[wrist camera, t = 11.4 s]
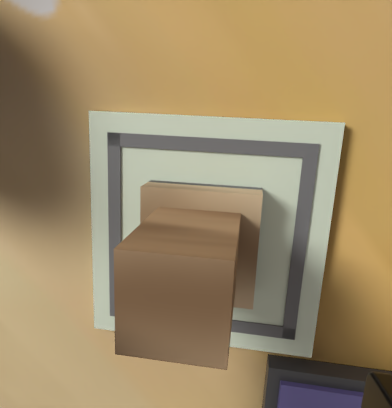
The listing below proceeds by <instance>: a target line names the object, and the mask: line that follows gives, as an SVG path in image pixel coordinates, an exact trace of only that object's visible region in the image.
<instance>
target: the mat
mask: <svg viewBox="0 0 392 408" xmlns="http://www.w3.org/2000/svg"><path fill="white" fill-rule="evenodd" d="M344 127H345V123H339V122H317V121H296V120H275V119H254V118H233V117H212V116H190V115H169V114H148V113H127V112H106V111H89V140H90V179H91V218H92V257H93V297H94V328H97V329H105V330H112V331H115V308H114V248H115V247H116V246H117V245H118V244H119V243H121V242H122V241H123V240H124V239H125V238H126V237H127V236H128V235H129V234H130V233H131V232H132V231H133V230H134V229H136V228H137V227H138V226H139V225H140V186H142V185H144V184H145V183H147V182H149V181H150V180H157V181H172V182H186V183H201V184H215V185H229V186H244V187H258V188H262V192H263V200H262V211H261V223H260V234H259V245H258V257H257V268H256V279H255V291H254V302H253V309H245V308H236V307H234V308H233V318H232V327H231V337H230V346H229V347H236V348H244V349H251V350H258V351H265V352H273V353H280V354H287V355H295V356H302V357H309V358H312V351H313V344H314V337H315V330H316V323H317V316H318V309H319V302H320V295H321V288H322V281H323V274H324V267H325V260H326V253H327V246H328V239H329V232H330V225H331V218H332V211H333V204H334V197H335V190H336V183H337V176H338V169H339V162H340V155H341V148H342V141H343V134H344Z"/></svg>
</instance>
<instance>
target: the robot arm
mask: <svg viewBox="0 0 392 408" xmlns="http://www.w3.org/2000/svg"><path fill="white" fill-rule="evenodd" d="M361 408H392V375H391V374H388V373H380V372H373V371H371V372H369V373H368V375H367V378H366V383H365V388H364V393H363V398H362V404H361Z"/></svg>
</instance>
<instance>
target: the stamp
mask: <svg viewBox="0 0 392 408" xmlns="http://www.w3.org/2000/svg"><path fill="white" fill-rule="evenodd" d="M262 200H263V192H262V188H258V187H244V186H229V185H215V184H201V183H186V182H172V181H157V180H150V181H149V182H147V183H145V184H144V185H142V186H140V225H139V226H138V227H137V228H136V229H134V230H133V231H132V232H131V233H130V234H129V235H128V236H127V237H126V238H125V239H124V240H123V241H122V242H121V243H119V244H118V245H117V246H116V247H115V248H114V308H115V354H118V355H125V356H132V357H139V358H146V359H153V360H160V361H167V362H174V363H181V364H188V365H195V366H202V367H209V368H216V369H223V370H227V365H228V356H229V346H230V337H231V327H232V318H233V308H234V307H236V308H245V309H253V302H254V291H255V279H256V268H257V257H258V245H259V234H260V223H261V211H262Z"/></svg>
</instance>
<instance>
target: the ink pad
mask: <svg viewBox="0 0 392 408" xmlns="http://www.w3.org/2000/svg"><path fill="white" fill-rule="evenodd" d="M371 371H373V372H380V373H388V374H391V375H392V371H385V370H377V369H370V368H363V367H356V366H348V365H341V364H334V363H327V362H319V361H312V360H305V359H298V358H290V357H283V356H276V355H269V354H268V358H267V367H266V376H265V385H264V395H263V404H262V408H361V404H362V398H363V393H364V388H365V383H366V378H367V375H368V373H369V372H371Z"/></svg>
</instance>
